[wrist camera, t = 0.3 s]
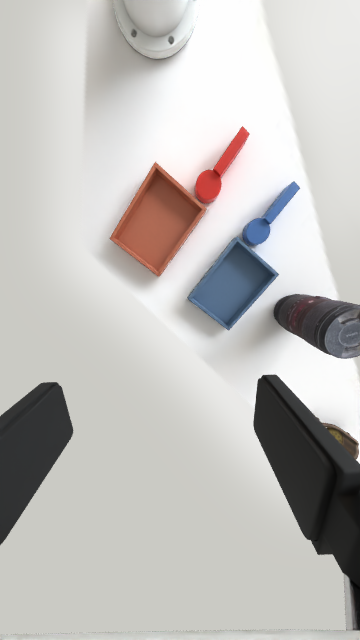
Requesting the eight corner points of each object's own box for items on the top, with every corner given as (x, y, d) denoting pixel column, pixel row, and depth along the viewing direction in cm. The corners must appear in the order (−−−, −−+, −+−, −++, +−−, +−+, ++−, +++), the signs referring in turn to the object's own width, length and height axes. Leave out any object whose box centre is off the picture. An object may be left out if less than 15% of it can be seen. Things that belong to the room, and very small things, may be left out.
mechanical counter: (326, 471, 44) (373, 465, 41) (309, 447, 40) (359, 437, 37) (311, 441, 51) (350, 434, 47) (295, 417, 47) (336, 407, 43)
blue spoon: (253, 250, 34) (259, 248, 32) (237, 235, 34) (242, 233, 31) (295, 199, 32) (305, 193, 29) (279, 182, 31) (288, 174, 29)
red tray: (157, 170, 31) (155, 161, 28) (204, 213, 33) (206, 208, 30) (114, 240, 34) (109, 238, 31) (160, 276, 36) (158, 276, 33)
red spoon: (208, 209, 32) (210, 203, 30) (190, 192, 32) (191, 185, 29) (249, 151, 30) (256, 140, 27) (231, 131, 29) (235, 118, 27)
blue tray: (233, 238, 34) (237, 236, 31) (272, 274, 36) (279, 274, 33) (187, 297, 37) (187, 299, 35) (225, 326, 39) (228, 330, 37)
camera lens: (265, 301, 37) (318, 321, 23) (301, 285, 36) (381, 295, 22) (275, 333, 39) (330, 369, 25) (310, 318, 38) (388, 347, 24)
